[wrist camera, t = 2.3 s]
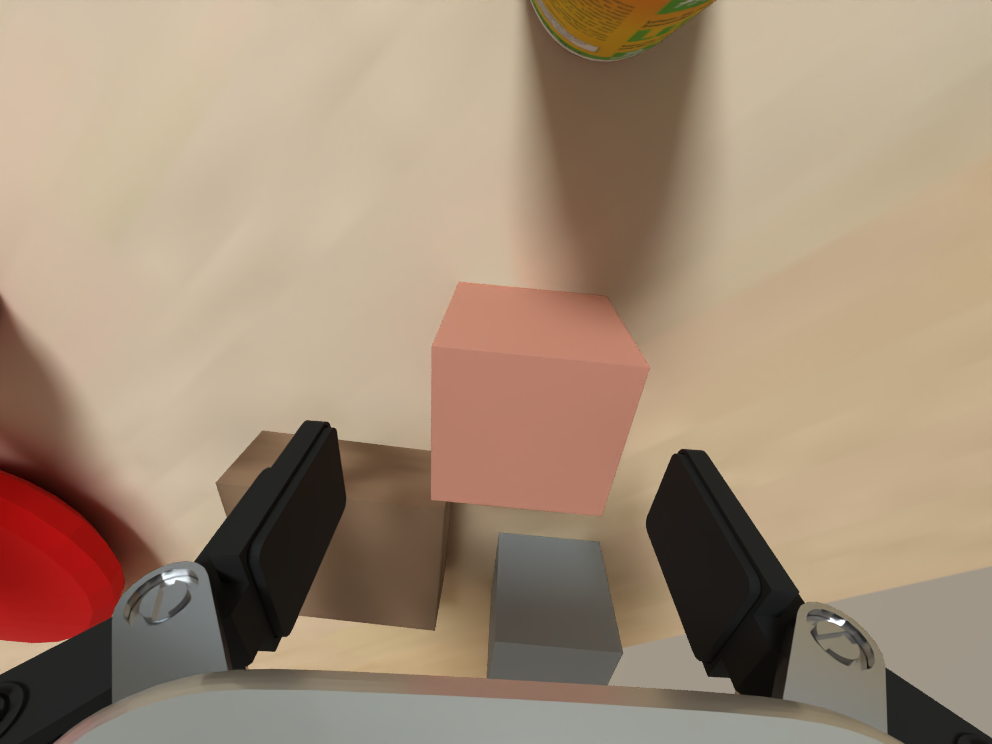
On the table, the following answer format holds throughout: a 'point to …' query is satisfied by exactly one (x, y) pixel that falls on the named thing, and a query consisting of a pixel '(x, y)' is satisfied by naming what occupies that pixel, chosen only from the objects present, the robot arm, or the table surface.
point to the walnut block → (369, 533)
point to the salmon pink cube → (531, 398)
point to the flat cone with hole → (51, 567)
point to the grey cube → (551, 612)
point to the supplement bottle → (613, 24)
